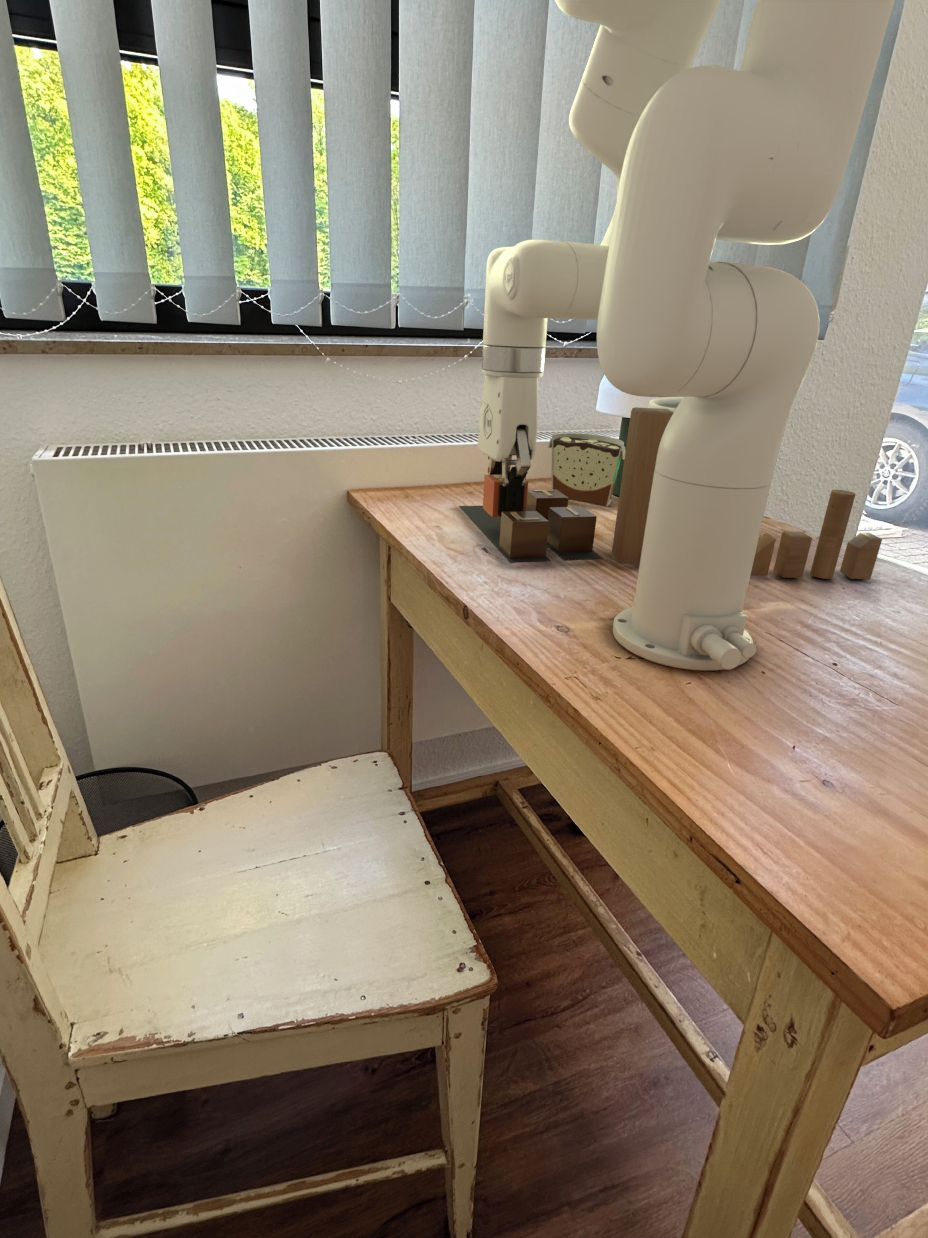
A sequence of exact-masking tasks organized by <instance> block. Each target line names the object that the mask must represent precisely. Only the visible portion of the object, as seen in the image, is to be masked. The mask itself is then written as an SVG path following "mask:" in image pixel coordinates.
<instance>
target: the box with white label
mask: <svg viewBox="0 0 928 1238" xmlns="http://www.w3.org/2000/svg"><path fill="white" fill-rule="evenodd" d="M548 527H549V521H548V520H547V519H546V518H544V517H543V516H542V515H541V514H539V513H538V512H537V511H513V512H502V513H501V527H500V541H499V547H500V548H501V550H502V551H503V552H504V553H505V554H506V555H507V556H508V557H509V558H510V559H518V558H544V557H546V556H547V555H546V554H547V547H548V546H547V537H548Z"/></svg>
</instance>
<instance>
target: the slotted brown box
mask: <svg viewBox="0 0 928 1238" xmlns="http://www.w3.org/2000/svg"><path fill="white" fill-rule="evenodd" d="M597 519H598V518H597V515H595V514H594V513H592V512H591V511H589V510H588V509H586V508H585V507H583V506H568V507H549V513H548V521H549V527H548V537H547V543H548V544H549V545H550V546H551V547H552V548H554V549H555V550H556V551H557V552H558V553H567V552H592V550H594V549H593V548H594V541H595V533H596V524H597Z"/></svg>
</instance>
